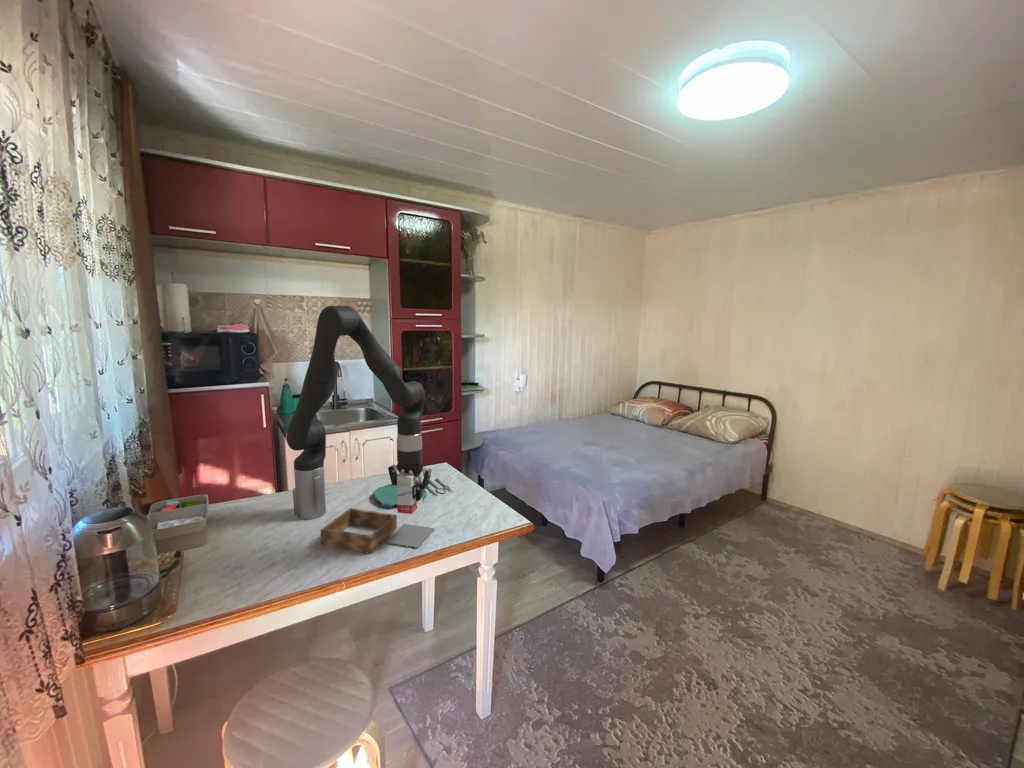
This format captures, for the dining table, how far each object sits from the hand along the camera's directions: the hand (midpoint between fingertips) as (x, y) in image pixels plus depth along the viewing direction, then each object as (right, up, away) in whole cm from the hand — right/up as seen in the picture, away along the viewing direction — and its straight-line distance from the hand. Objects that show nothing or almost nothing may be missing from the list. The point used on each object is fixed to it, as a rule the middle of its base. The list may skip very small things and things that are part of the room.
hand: (410, 498), depth 131 cm
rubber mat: (0, -13, +2) cm, 13 cm away
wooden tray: (-16, -12, +1) cm, 20 cm away
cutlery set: (-7, -8, +34) cm, 35 cm away
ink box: (0, -3, 0) cm, 3 cm away
